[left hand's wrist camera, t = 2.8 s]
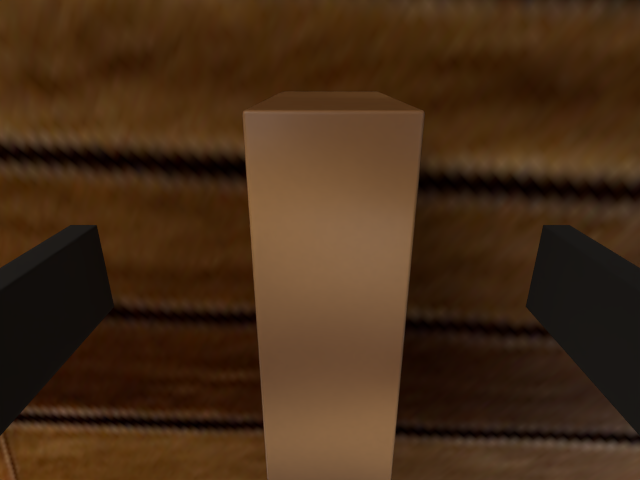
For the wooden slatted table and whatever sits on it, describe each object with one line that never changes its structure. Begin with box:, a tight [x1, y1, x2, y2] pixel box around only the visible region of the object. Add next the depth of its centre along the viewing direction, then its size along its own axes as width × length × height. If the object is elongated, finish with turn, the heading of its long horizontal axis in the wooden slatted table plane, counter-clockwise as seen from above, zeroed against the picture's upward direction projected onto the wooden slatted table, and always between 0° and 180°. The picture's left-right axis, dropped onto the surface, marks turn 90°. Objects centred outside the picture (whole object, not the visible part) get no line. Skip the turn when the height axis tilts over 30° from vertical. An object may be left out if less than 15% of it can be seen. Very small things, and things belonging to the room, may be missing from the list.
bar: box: [242, 92, 425, 480], centre depth 19 cm, size 26×4×10 cm, turn 0°
